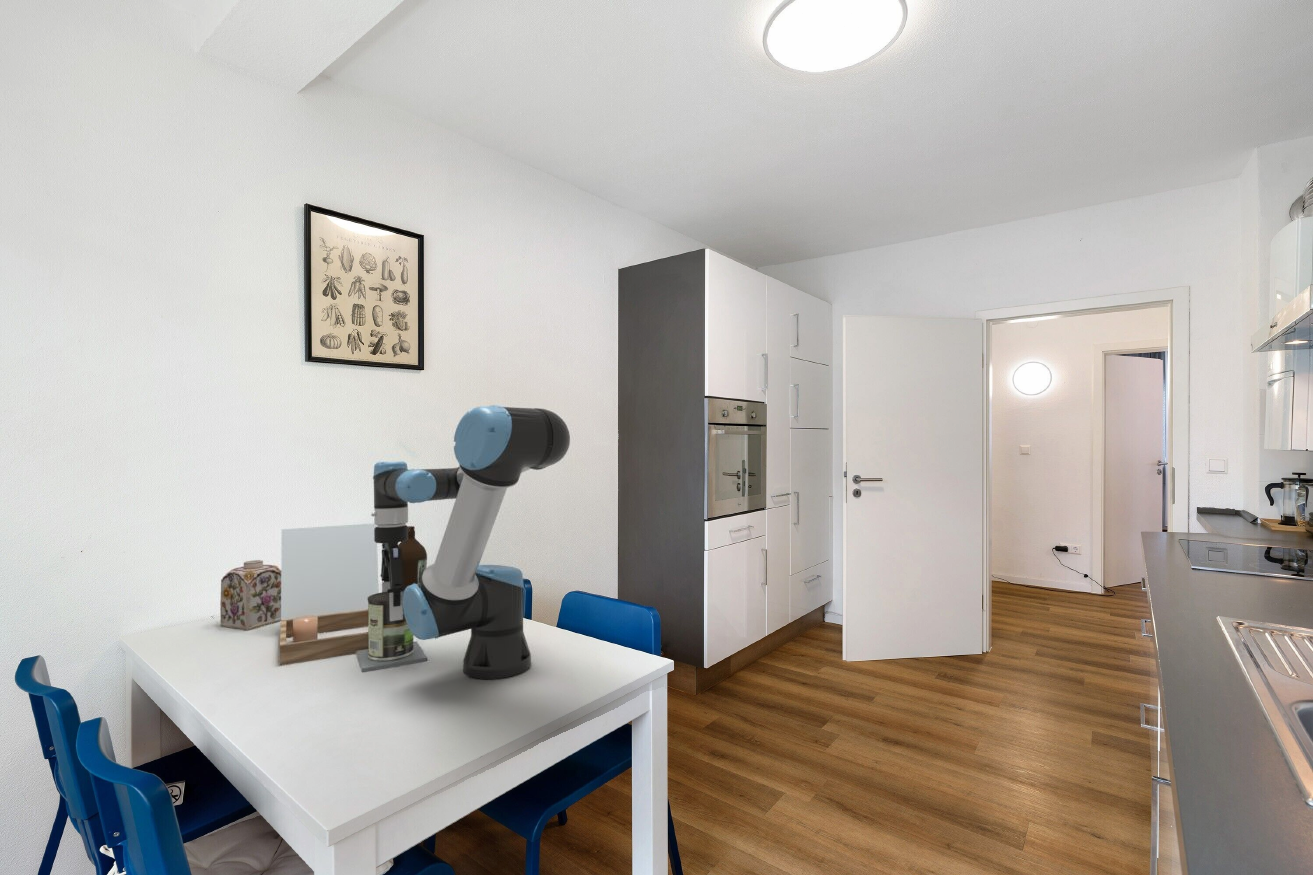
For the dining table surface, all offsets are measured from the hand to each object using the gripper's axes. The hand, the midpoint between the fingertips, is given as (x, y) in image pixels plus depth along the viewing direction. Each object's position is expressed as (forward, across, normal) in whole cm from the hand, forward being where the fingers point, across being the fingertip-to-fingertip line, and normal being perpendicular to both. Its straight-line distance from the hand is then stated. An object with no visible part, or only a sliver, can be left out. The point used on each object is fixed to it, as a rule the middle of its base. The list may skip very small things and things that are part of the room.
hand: (392, 613), depth 148 cm
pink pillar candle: (+10, -26, -18) cm, 33 cm away
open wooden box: (+10, -21, -11) cm, 26 cm away
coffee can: (+10, -1, 0) cm, 10 cm away
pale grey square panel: (-7, -36, -11) cm, 38 cm away
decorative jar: (+9, -53, -30) cm, 61 cm away
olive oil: (+10, -51, +12) cm, 53 cm away
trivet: (+10, -1, 0) cm, 11 cm away
